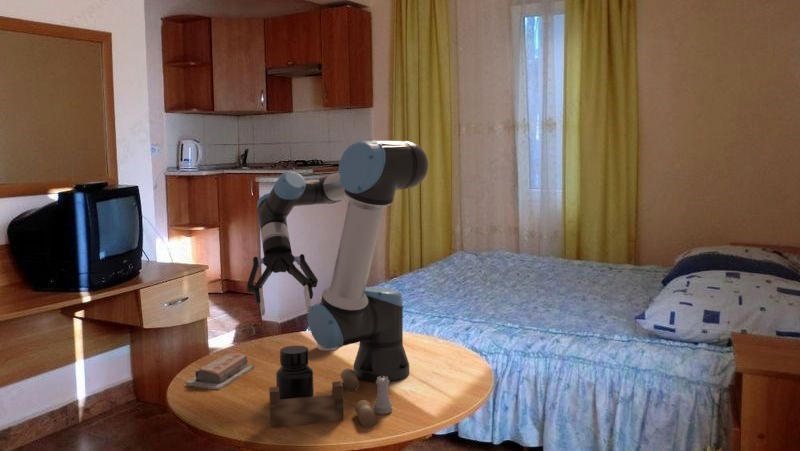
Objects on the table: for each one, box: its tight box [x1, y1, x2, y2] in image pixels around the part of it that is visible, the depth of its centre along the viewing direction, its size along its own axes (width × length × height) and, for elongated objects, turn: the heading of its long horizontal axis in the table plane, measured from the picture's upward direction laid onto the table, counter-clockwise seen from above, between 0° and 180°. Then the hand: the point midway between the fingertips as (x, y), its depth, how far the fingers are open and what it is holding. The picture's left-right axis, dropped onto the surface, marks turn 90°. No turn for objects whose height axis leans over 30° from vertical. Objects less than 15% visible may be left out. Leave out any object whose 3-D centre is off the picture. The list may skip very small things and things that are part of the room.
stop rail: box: [268, 381, 345, 428], centre depth 151 cm, size 16×3×8 cm, turn 103°
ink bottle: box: [275, 345, 315, 400], centre depth 165 cm, size 10×9×12 cm
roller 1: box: [340, 368, 360, 392], centre depth 173 cm, size 7×4×4 cm, turn 13°
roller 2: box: [354, 399, 377, 428], centre depth 151 cm, size 7×4×4 cm, turn 13°
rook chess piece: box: [372, 376, 393, 415], centre depth 156 cm, size 4×4×8 cm
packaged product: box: [185, 352, 255, 391], centre depth 181 cm, size 18×5×10 cm
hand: (286, 310), depth 174 cm, fingers open, 11 cm apart
